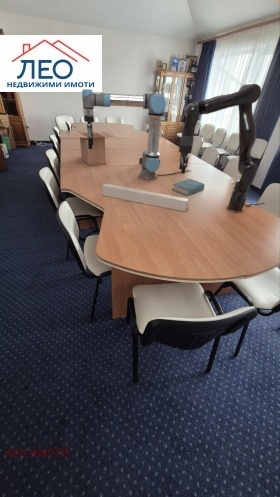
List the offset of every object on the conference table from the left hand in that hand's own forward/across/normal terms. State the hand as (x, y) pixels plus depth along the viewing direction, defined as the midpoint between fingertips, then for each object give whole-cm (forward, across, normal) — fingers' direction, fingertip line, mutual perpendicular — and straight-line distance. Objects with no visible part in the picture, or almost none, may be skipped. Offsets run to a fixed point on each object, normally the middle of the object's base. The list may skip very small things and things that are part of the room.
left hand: (91, 147), depth 173 cm
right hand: (+1, +51, +60) cm, 79 cm away
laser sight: (+27, -55, +56) cm, 83 cm away
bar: (+27, +40, +38) cm, 62 cm away
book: (+27, +16, +80) cm, 86 cm away
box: (+28, -61, -3) cm, 67 cm away
